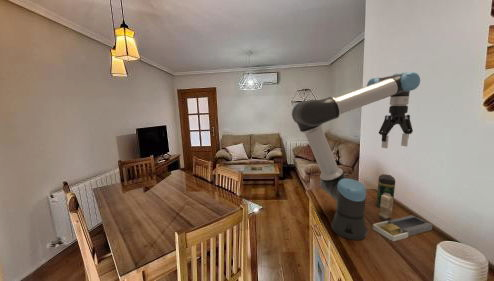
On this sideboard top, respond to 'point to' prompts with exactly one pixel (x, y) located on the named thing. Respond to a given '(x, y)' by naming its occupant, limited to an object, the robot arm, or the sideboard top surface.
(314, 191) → the sideboard top surface
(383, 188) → the coffee jar
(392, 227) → the olive small block
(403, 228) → the grey shallow tray
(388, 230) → the chip
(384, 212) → the beige tall block
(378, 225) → the white u-shaped frame
